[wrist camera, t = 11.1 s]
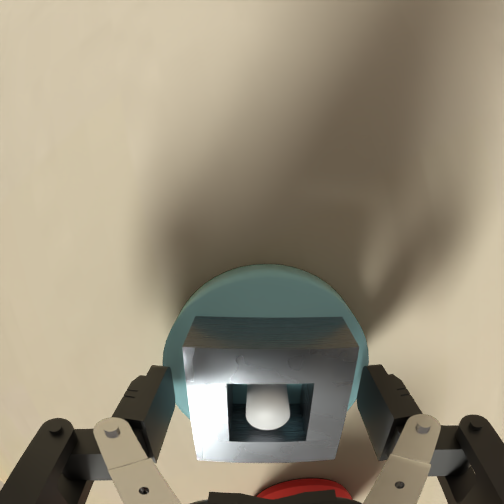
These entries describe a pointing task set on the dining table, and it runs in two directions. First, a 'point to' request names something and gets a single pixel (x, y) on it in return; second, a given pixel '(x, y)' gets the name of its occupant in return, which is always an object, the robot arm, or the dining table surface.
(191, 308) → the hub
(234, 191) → the dining table surface
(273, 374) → the square metal frame
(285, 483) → the canned food
